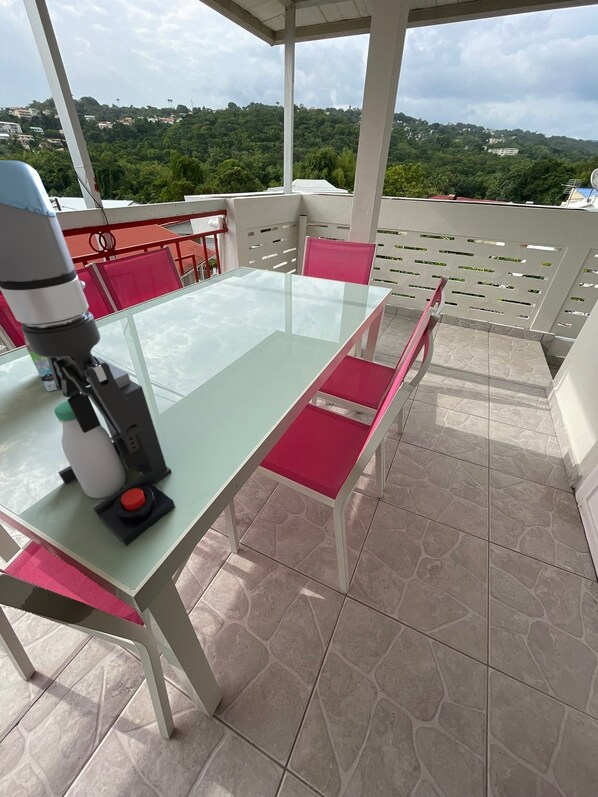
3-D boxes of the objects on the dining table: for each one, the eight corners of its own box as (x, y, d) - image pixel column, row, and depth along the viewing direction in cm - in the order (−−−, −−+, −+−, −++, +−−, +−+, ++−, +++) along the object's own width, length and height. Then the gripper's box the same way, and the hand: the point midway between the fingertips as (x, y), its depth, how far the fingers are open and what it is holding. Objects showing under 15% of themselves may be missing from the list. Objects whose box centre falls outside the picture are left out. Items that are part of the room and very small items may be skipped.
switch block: (126, 546, 56) (119, 533, 54) (102, 522, 60) (95, 508, 58) (175, 507, 63) (171, 493, 61) (151, 487, 67) (146, 474, 65)
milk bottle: (135, 480, 69) (103, 401, 57) (99, 506, 63) (57, 425, 52) (112, 465, 72) (79, 388, 61) (77, 488, 67) (33, 409, 55)
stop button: (130, 514, 58) (128, 508, 57) (119, 504, 59) (116, 497, 58) (149, 500, 60) (146, 494, 59) (138, 491, 62) (135, 485, 61)
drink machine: (102, 522, 60) (47, 419, 47) (62, 481, 68) (5, 382, 54) (172, 473, 70) (143, 376, 57) (130, 442, 78) (96, 350, 64)
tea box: (86, 382, 100) (67, 336, 91) (47, 393, 95) (23, 346, 86) (78, 362, 109) (60, 320, 101) (42, 371, 104) (20, 327, 96)
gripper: (142, 331, 36) (181, 466, 49) (47, 289, 49) (97, 405, 61) (70, 357, 31) (133, 499, 44) (-16, 303, 44) (53, 426, 56)
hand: (112, 445), depth 52 cm, fingers open, 13 cm apart
